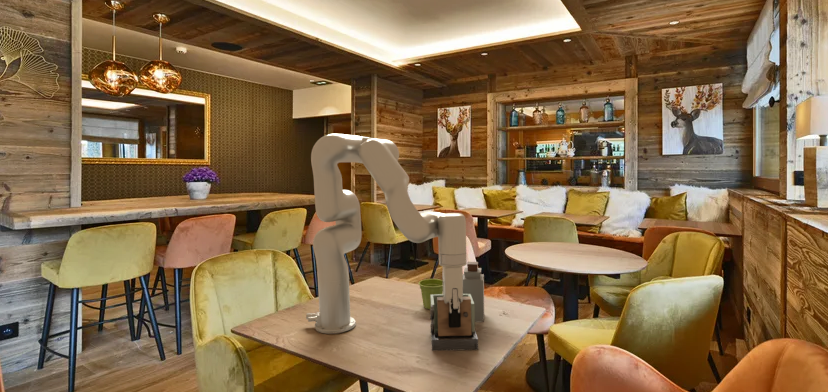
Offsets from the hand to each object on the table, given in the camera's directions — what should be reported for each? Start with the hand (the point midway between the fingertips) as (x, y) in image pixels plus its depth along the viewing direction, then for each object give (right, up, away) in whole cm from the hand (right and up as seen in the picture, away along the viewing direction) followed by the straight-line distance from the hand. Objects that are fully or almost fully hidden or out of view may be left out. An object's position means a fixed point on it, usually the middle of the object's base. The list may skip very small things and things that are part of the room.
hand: (454, 324), depth 114 cm
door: (0, -3, 0) cm, 3 cm away
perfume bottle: (+8, -4, +21) cm, 23 cm away
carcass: (0, -6, +7) cm, 9 cm away
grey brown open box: (0, -6, 0) cm, 6 cm away
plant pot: (-5, -4, +32) cm, 33 cm away
